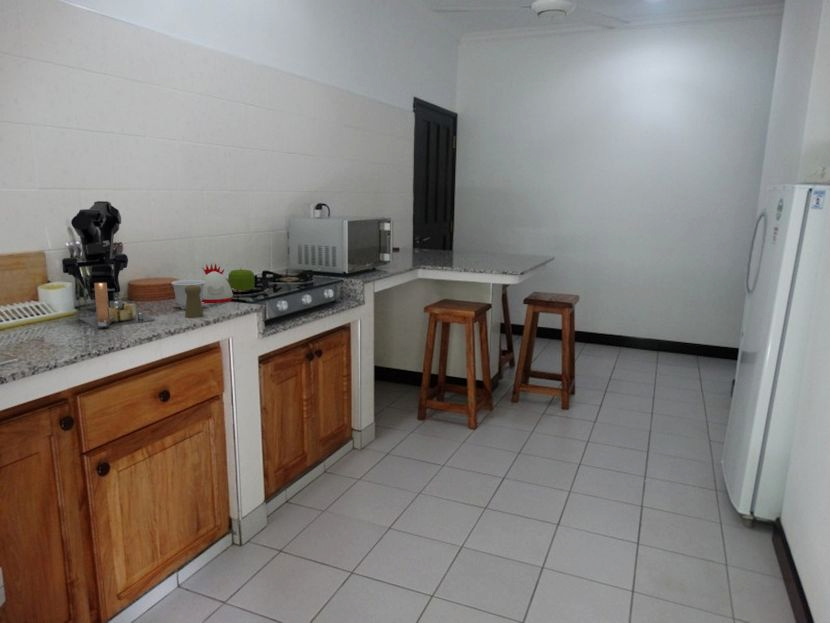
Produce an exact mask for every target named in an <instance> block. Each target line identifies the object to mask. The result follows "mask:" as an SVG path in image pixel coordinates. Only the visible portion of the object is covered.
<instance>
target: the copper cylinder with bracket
mask: <svg viewBox="0 0 830 623" xmlns="http://www.w3.org/2000/svg"><path fill="white" fill-rule="evenodd" d="M94 287H95V293H94V296H95V307H96V309H95V311H96V316H97V322H98V326H107V325H108V324H110V323H111V322H113V321H119V320H120V321H122V320H128V319H132V318H135V317H136V312H137V310H136V309H137V308H136V303H127V301H122V310H119V306H109V305H108V293H107V283H105V282H100V283H94Z"/></svg>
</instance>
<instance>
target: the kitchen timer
mask: <svg viewBox="0 0 830 623" xmlns="http://www.w3.org/2000/svg"><path fill="white" fill-rule="evenodd" d="M202 269H203V272H204V273H205V275H204V277H203V278H202V279H201V280H204V281H205V282H206V283H205V284H204V288H203V299H202V302H204V303H203V304H208V303H215V304H224V303H223V302H226V303H229V302H228V301H231V300H232V298H233V299H234V293H233V292H232V290H231V287H230V284H229V281H228V278H226V277H225V276H224V275H223V274H224V271H225V268H223V269H222V271H221V266H220V265H219V266H218V267H217V264H216V263H214V267H213V263H210V268H209V266H208V265H207V264H205V268H204V267H203V266H202ZM231 302H232V301H231Z"/></svg>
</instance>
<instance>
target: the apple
mask: <svg viewBox="0 0 830 623" xmlns="http://www.w3.org/2000/svg"><path fill="white" fill-rule="evenodd" d="M227 281H228V282H229V284H230V287H231V288H234V289H239V290H249V289H253V288H254V289H255V274H254V272H253V271H252V270H249V269H242V267H240V269H233V270H231V271H230V272H229V273H228V278H227Z"/></svg>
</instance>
